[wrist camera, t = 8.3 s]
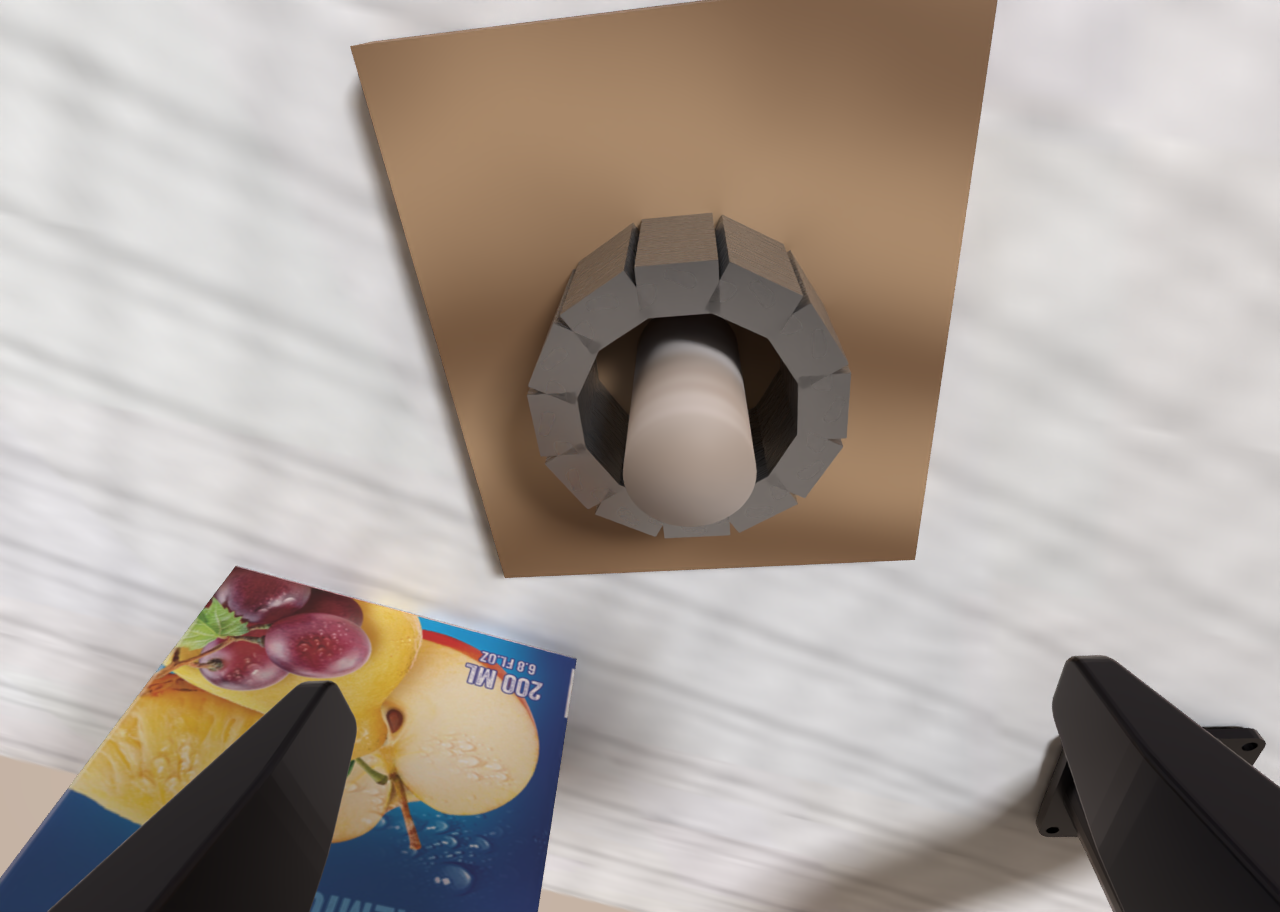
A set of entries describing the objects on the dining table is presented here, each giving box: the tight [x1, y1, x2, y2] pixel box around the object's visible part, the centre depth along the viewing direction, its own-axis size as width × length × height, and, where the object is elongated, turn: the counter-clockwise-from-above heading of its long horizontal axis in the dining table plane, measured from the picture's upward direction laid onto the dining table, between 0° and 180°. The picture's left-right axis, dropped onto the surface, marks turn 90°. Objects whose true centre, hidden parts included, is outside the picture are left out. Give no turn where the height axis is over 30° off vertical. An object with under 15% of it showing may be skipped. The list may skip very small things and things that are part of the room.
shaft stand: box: [350, 0, 997, 578], centre depth 15 cm, size 14×12×6 cm
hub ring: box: [527, 213, 851, 538], centre depth 16 cm, size 6×6×3 cm
